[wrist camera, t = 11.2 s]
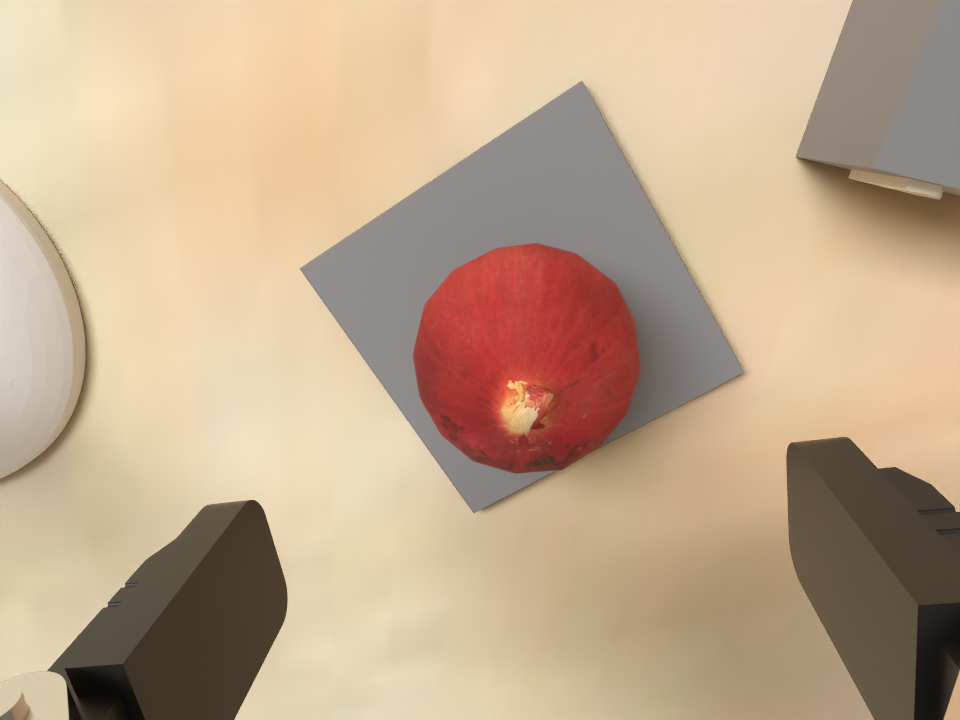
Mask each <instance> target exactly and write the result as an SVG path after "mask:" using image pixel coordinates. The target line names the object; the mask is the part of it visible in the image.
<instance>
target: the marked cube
mask: <svg viewBox="0 0 960 720" xmlns="http://www.w3.org/2000/svg"><path fill="white" fill-rule="evenodd" d="M796 157H799V158H803V159H807V160H811V161H815V162H819V163H823V164H828V165H832V166H836V167H840V168H844V169H848V170H851V172H850V175H849V177H848V178H849V179H853V180H857V181H861V182H865V183H869V184H874V185H878V186H882V187H886V188H890V189H894V190H898V191H903V192H907V193H911V194H915V195H919V196H923V197H928V198H933V199H938V200H940V199H941V197H942V195H943V193H948V194H952V195H956V196H960V0H853V1H852V4H851V7H850V10H849V12H848V15H847V18H846V20H845V23H844V26H843V29H842V31H841V34H840V37H839V40H838V42H837V45H836V48H835V51H834V53H833V56H832V59H831V61H830V64H829V67H828V70H827V72H826V75H825V78H824V81H823V83H822V86H821V89H820V91H819V94H818V97H817V100H816V102H815V105H814V108H813V111H812V113H811V116H810V119H809V122H808V124H807V127H806V130H805V132H804V135H803V138H802V141H801V143H800V146H799V149H798V152H797V154H796Z"/></svg>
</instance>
